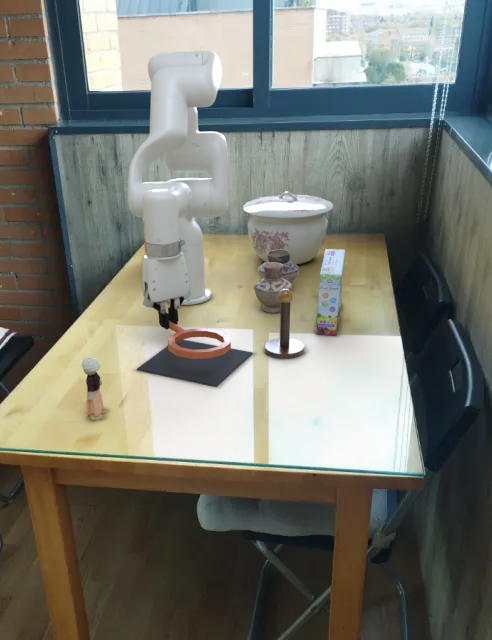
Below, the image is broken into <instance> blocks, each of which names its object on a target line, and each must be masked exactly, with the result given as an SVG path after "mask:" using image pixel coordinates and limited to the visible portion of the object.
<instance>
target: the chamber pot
mask: <svg viewBox="0 0 492 640" xmlns="http://www.w3.org/2000/svg"><path fill="white" fill-rule="evenodd" d="M334 205H335V204H333V203H332V202H331V201H330V200H328V199H326V198H323V197H319V196H315V195H310V194H300V193H299V194H298V193H297V194H296V193H295V194H294V193H292V192H290V191H283V192H282V193H280V194H273V195H265V196H260V197H257V198H254V199H251V200H249V201H246V202H245V203H244V205H243V206H242V209H243V211H244V212H246V213H247V214H249V215H250V217H249V218H248V221H247V235H248V238H249V243H250V246H251V247H252V249H253V250H254V253H255V254H256V255H257V257H258V258H259V259H260V260H262V261H263V262H264V263H265V262H267V261H268V256H267V253H268V252H269V251H272V250H287V251H289V252H290V259H289V261H290V262H292V263H294V264H296V265H297V266H298V265H302V264H304V263H307V262H310V261H312V260H314V258H316V256H317V255H318V254H319V252H320V250H321V249H322V247H323V246H324V244H325V241H326V237H327V233H328V226H329V221H328V218H327V217H326V213H328V212H330V211H332V210H333V208H334Z"/></svg>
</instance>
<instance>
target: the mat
mask: <svg viewBox="0 0 492 640" xmlns="http://www.w3.org/2000/svg"><path fill="white" fill-rule="evenodd" d="M176 344H177V345H178V346H180V347H182V348H187V349H192V350H200V349H210V348H214V347H218V346H219V345H215V344H208V343H203V342H200V341H194V340H193V341H192V340H188V339H183V340H181V341H179V342H178V343H176ZM252 355H253V351H247V350H242V349H237V348H231V349H230V350H228V351H227V352H226V353H225V354H223V355H220V356H216V357H212V358H208V359H190V358H185V357H180V356H176V355H175V354H173V353H172V352H170V351H169V350H168V345H167V346H165V347H164V348H163V349H162V350H160V351H158V352H157V353H156V354H155V355H153V356H152V357H150V358H149V359H148V360H146V361H145V362H144V363H142V364H141V365H140V366H138V367H137V368H136V371H138V372H143V373H148V374H153V375H157V376H162V377H166V378H171V379H177V380H181V381H186V382H191V383H195V384H198V385H199V384H200V385H204V386H208V387H214V388H217V387H218V386H220V385H221V384H222V383H223V382H224V381H225V380H226V379H227V378H228V377H229V376H230V375H232V373H233V372H235V371H236V370H237V369H238V368H239V367H241V365H242V364H243V363H245V361H246V360H248V359H249V358H250V357H251V356H252Z"/></svg>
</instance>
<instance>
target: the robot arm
mask: <svg viewBox="0 0 492 640" xmlns="http://www.w3.org/2000/svg"><path fill="white" fill-rule="evenodd" d="M147 73H148V77H149V81H150V106H149V107H150V109H149V111H150V112H149V135H148V137H147V138H146V139H145V140H144V141H143V142H142V144H140V146H139V147H138V148H137V150H136V152H135V153H134V155H133V157H132V159H131V161H130V164H129V166H128V167H129V168H128V175H127V179H128V180H127V205H128V209H129V211H130V213H131V215H133V216H134V217H137V218H142V217H144V224H145V236H146V249H147V255H146V254H144V255H143V257H142V265H141V266H142V267H141V292H142V296H143V301H142V305H143V306H144V307H146V308H151V309H154V310H155V311H157V315H158V324H159V326H160V327H161V328H163V329H164V330H165V331H167V330H170V329H169V321H171V322H173V323H174V324H176V325H178V326H179V324H178V322H179V310H180V309H181V306H191V305H192V306H193V305H199V304H202V303H205V302H207V301H208V300H210V299H211V297H212V292H211V290H210V289H208V288H207V287H206V277H205V276H206V275H205V255H204V254H205V253H204V252H205V251H204V234H203V231H202V228H201V226H200V225H199V224H198V223H197V222H196V218H218V217H219V218H220V217H224V216H225V215H226V214H227V212H228V210H229V205H230V179H229V177H230V174H229V172H230V171H229V148H228V147H229V146H228V141H227V139H226V136H225V135H223V134H222V133H220V132H219V131H199V119H198V118H199V116H198V115H199V113H198V109H197V108H208V107H211V106H212V105H214V103H215V101H216V99H217V96H218V90H219V87H220V84H221V80H222V79H221V78H222V65H221V60H220V57H219V56H218V54H217V53H216V52H214V51H211V50H197V51H196V50H195V51H168V52H161V53H156V54H155V55H152V56H151V57H150V58H149V60H148V63H147ZM164 156H165V164H166V167H167V169H168V170H169V171H171V172H172V173H178V174H186V173H187V174H188V173H189V174H191V173H193V174H195V173H207V174H209V175H210V177H204V178H203V177H200V178H199V177H197V178H196V177H186V178H184V177H183V178H173V179H169V180H167V181H143V178H144V174H145V172H146V171H147V169H148V168H149V167H150V166H151V165H152V164H153V163H155V162H156V161H157V160H159V159H160V158H163V157H164ZM193 218H195V220H194V219H193ZM166 301H167V302H169V307H168V308H167V307H166Z"/></svg>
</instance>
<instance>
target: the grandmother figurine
mask: <svg viewBox="0 0 492 640" xmlns="http://www.w3.org/2000/svg"><path fill="white" fill-rule="evenodd" d="M81 367H82V370H83V373H84V374H85V375H87V376H86V379H85V382H86V390H87V391H86V402H85V408H86V409H85V410H86V414H87V415H89V418H88V419H89V420H91V421H98V420H103V419H104V414H105V413H106V409H105V406H104V402H103V396H102V394H101V386H102V385H103V380H102V379H101V376H100V375H99V373H98V371H99V370H100V368H101V364H100V363H99V361H98V359H97V358H95V357H93V356H90V355H89V356H86V357H84V358H83V359H82V361H81Z"/></svg>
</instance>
